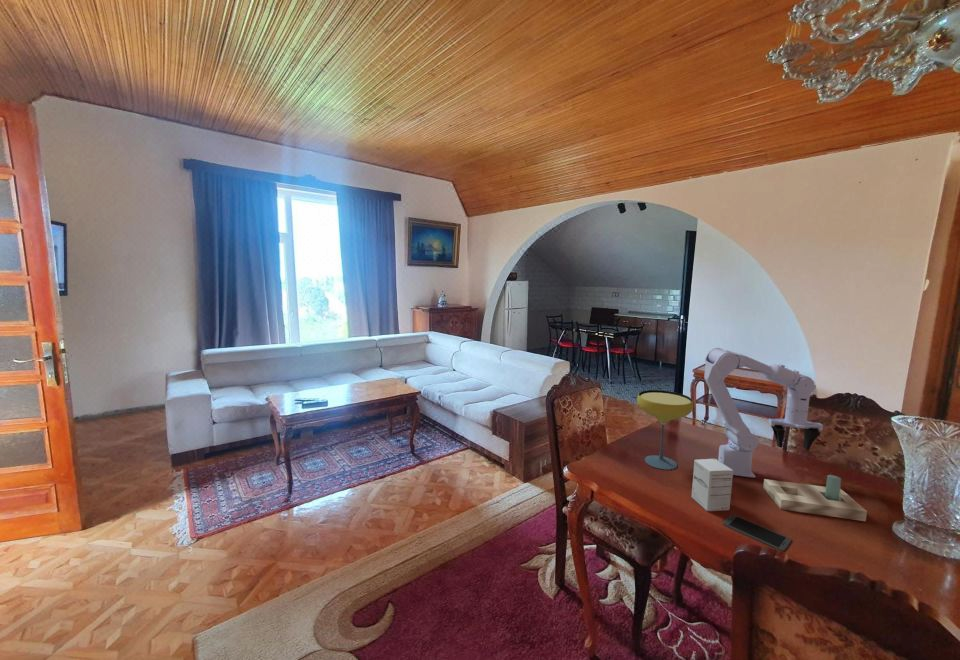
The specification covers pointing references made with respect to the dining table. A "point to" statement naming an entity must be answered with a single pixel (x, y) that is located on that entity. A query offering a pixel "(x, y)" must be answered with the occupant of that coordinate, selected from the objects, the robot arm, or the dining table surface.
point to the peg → (832, 488)
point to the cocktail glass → (664, 417)
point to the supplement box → (712, 484)
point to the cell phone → (757, 532)
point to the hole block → (813, 500)
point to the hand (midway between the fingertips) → (792, 447)
